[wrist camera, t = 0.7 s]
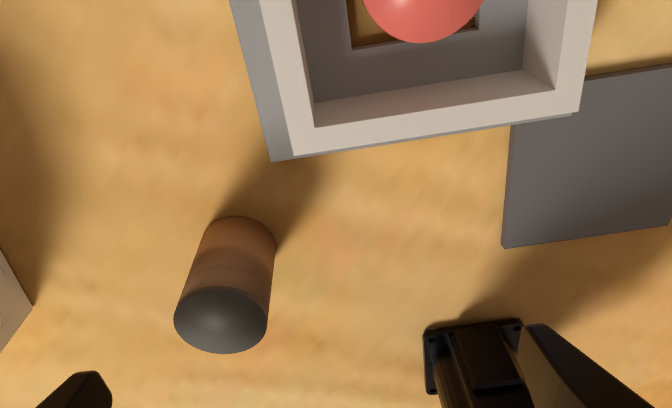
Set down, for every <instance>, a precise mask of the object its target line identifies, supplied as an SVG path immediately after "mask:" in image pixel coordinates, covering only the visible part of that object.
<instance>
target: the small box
mask: <svg viewBox="0 0 672 408" xmlns="http://www.w3.org/2000/svg"><path fill="white" fill-rule="evenodd" d="M32 309H33V307H32V305H31V303H30V301H29V300H28V298H27V296H26V294H25V293H24V291H23V289H22V287H21V286H20V284H19V282H18V280H17V278H16V277H15V275H14V273H13V271H12V269H11V268H10V266H9V264H8V262H7V261H6V259H5V257H4V255H3V253H2V252H1V250H0V353H1V351H2V350H3V349H4V347H5V346H6V344H7V343H8V342H9V340H10V339H11V338H12V336H13V335H14V333H15V332H16V331H17V329H18V328H19V327H20V325H21V324H22V323H23V321H24V320H25V319H26V317H27V316H28V314H29V313H30V312H31V311H32Z"/></svg>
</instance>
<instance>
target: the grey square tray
mask: <svg viewBox="0 0 672 408" xmlns="http://www.w3.org/2000/svg"><path fill="white" fill-rule="evenodd" d="M229 2H230V6H231V10H232V14H233V18H234V22H235V26H236V30H237V33H238V37H239V41H240V45H241V49H242V53H243V57H244V60H245V64H246V68H247V72H248V76H249V80H250V84H251V88H252V91H253V95H254V99H255V103H256V107H257V111H258V115H259V118H260V122H261V126H262V130H263V134H264V138H265V142H266V146H267V149H268V153H269V157H270V161H271V162H278V161H284V160H291V159H297V158H303V157H310V156H316V155H323V154H329V153H335V152H342V151H348V150H355V149H361V148H367V147H374V146H380V145H387V144H393V143H400V142H406V141H412V140H419V139H425V138H432V137H438V136H444V135H451V134H457V133H464V132H470V131H476V130H483V129H489V128H496V127H502V126H509V125H515V124H521V123H528V122H534V121H541V120H547V119H553V118H560V117H566V116H572V113H573V112H578V111H579V105H580V99H581V94H582V88H583V82H584V77H585V71H586V65H587V60H588V54H589V48H590V42H591V37H592V31H593V25H594V20H595V14H596V8H597V3H598V0H484V1H483V3H482V4H481V6H480V8H479V9H478V10H477V12H476V13H475V18H474V27H473V28H467V29H461V30H457V31H456V32H454V33H453V34H451V35H449V36H447V37H445V38H442V39H440V40H437V41H433V42H427V43H411V42H406V41H403V40H394V41H388V42H382V43H376V44H370V45H364V46H358V47H351V39H350V31H349V22H348V14H347V6H346V0H229Z"/></svg>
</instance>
